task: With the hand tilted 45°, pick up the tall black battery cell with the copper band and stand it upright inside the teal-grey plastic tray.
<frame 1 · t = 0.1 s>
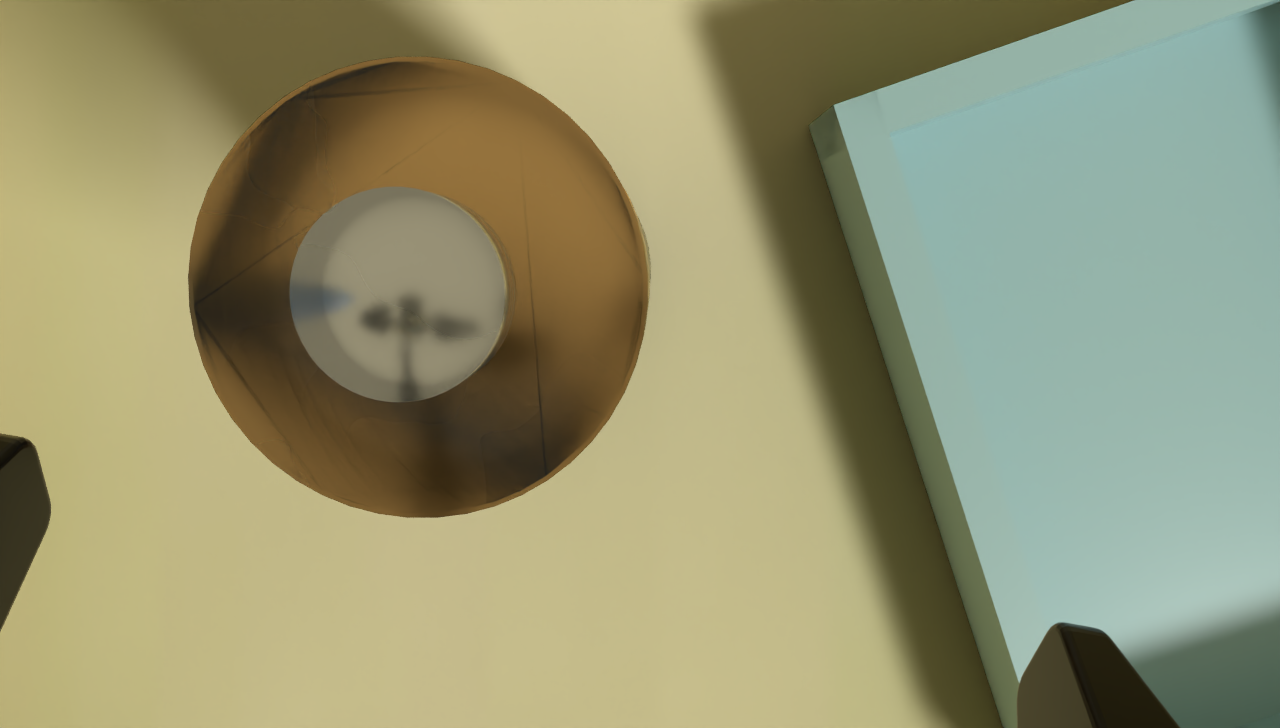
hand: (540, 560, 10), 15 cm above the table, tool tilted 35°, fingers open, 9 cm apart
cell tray: (1167, 398, 25), on the table
battery cell: (534, 270, 25), on the table
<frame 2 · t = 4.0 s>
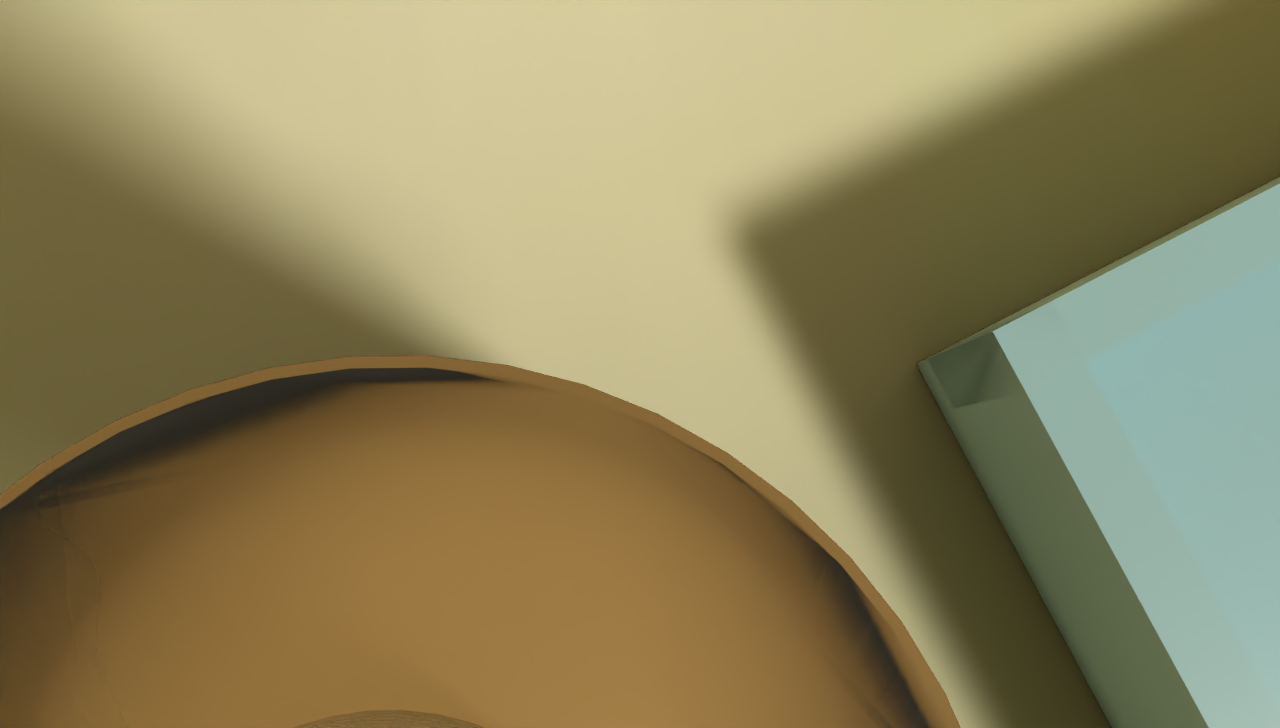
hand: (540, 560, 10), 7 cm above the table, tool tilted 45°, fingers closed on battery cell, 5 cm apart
battery cell: (553, 628, 16), on the table, touching gripper
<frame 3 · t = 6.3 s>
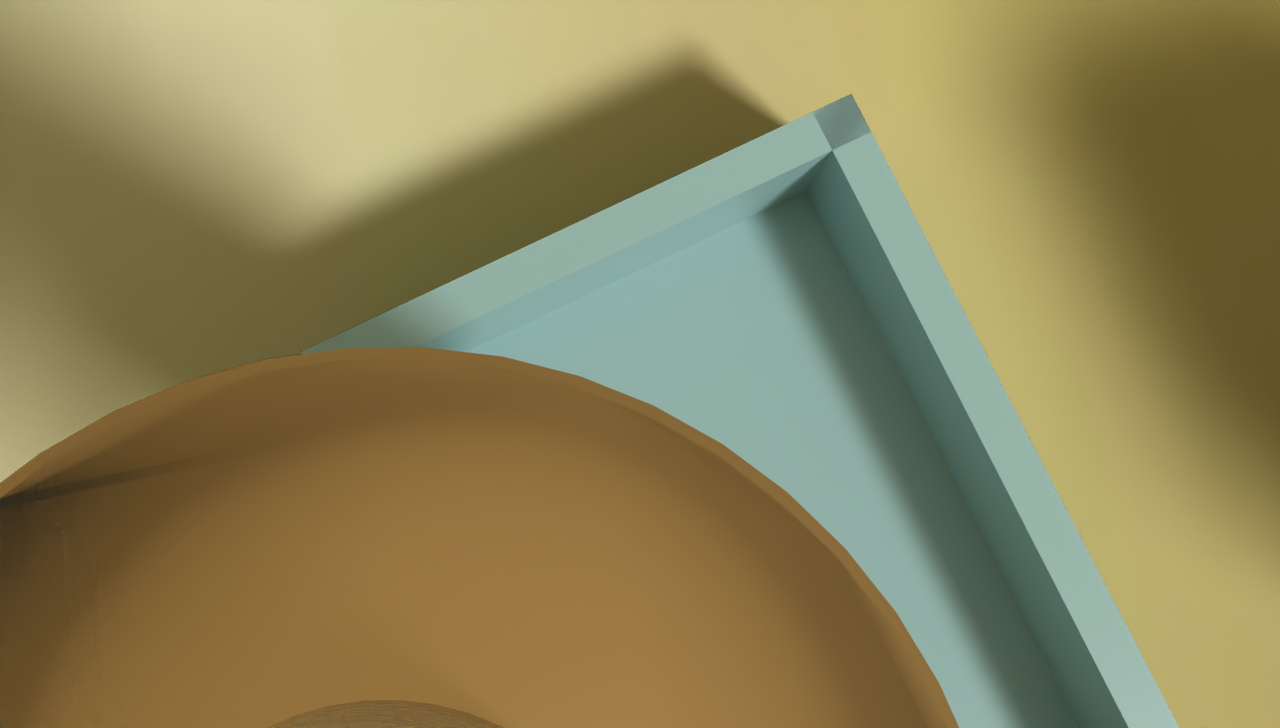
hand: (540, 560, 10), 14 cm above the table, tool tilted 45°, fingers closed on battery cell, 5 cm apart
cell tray: (755, 605, 23), on the table
battery cell: (551, 626, 16), point 7 cm above the table, touching gripper
when the fingers open (9 cm above the table, at t = 8.6 s): battery cell drops 1 cm, resting on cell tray.
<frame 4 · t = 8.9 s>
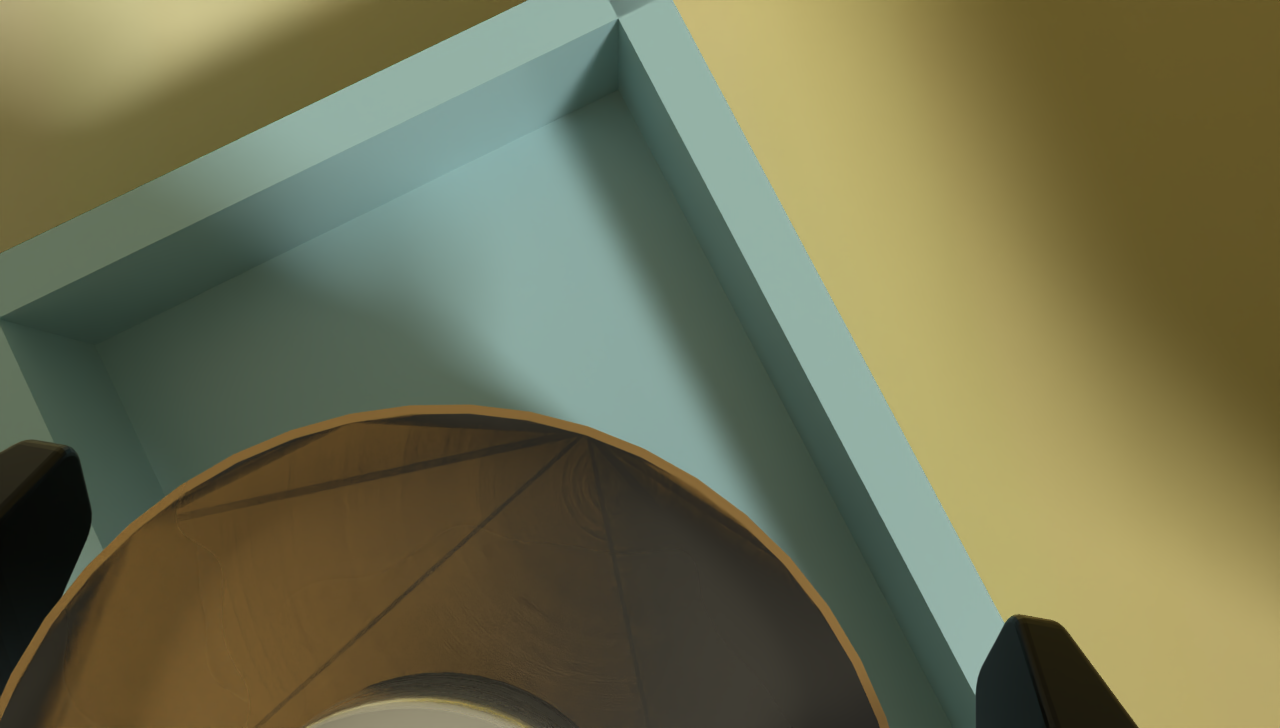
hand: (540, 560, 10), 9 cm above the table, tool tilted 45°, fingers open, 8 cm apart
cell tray: (561, 611, 19), on the table
battery cell: (558, 618, 18), point 1 cm above the table, touching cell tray
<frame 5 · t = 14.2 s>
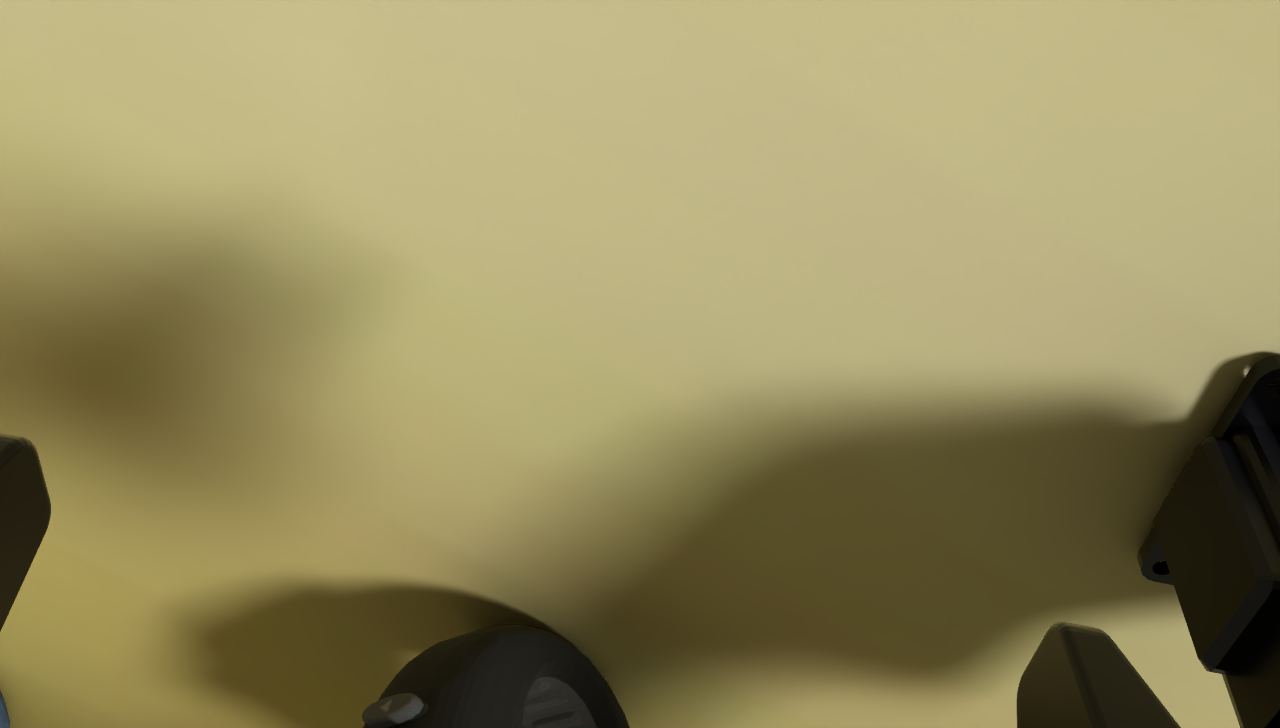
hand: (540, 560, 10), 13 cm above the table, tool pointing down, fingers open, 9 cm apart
controller: (566, 676, 33), on the table
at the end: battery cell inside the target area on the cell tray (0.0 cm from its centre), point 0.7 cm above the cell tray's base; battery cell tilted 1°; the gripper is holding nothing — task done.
